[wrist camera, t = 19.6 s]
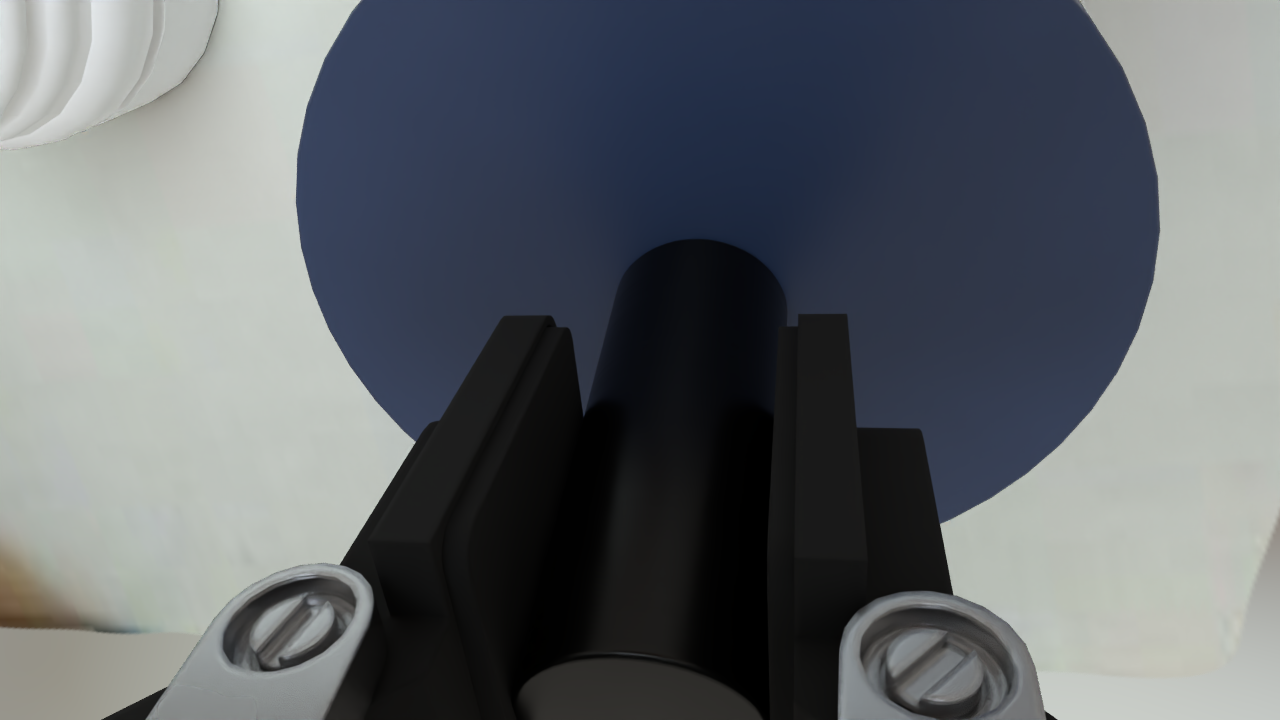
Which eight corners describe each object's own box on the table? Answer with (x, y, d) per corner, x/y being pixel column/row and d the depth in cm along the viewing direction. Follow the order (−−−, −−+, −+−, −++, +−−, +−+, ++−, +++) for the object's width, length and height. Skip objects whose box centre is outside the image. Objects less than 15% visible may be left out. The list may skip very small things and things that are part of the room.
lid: (1152, -352, 8) (1781, -208, 3) (1128, 483, 15) (1308, 990, 10) (163, -19, 12) (-385, 331, 6) (506, 541, 19) (383, 941, 13)
